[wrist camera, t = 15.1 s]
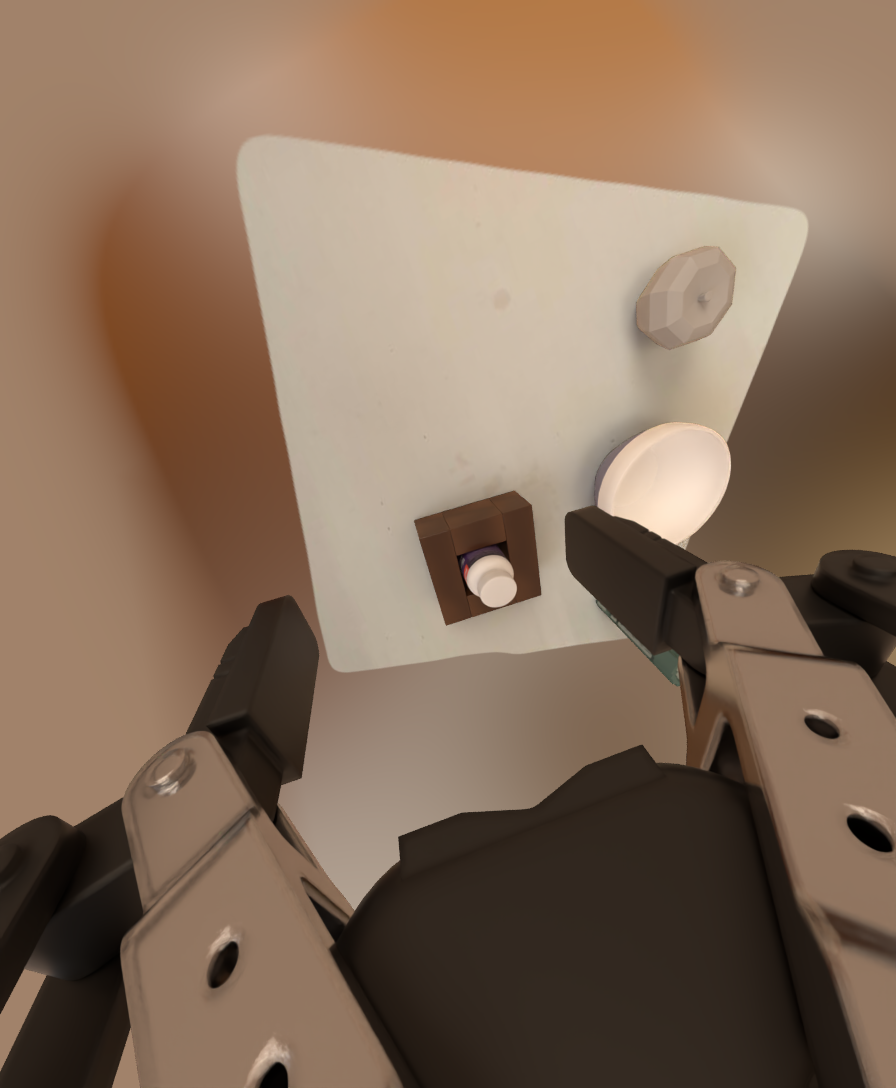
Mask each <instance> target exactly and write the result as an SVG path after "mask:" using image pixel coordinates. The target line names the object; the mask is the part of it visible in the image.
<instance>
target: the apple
mask: <svg viewBox="0 0 896 1088" xmlns="http://www.w3.org/2000/svg"><path fill="white" fill-rule="evenodd" d="M735 274H736V267H735V266H734V265H733V263H732V262H731V261H730V260H729V259H728V257H727V256H726V255H725V254H724V252H723V251H722V250H721V249H720V248H719V247H712V246H704V247H701V248H697V249H694V250H691V251H688V252H685V253H682V254H679V255H676V256H673V257H672V258H671V259H669V260H668V261H667V262H666V263H665V264H663V265H662V266H661V267H660V268H658V269H657V271H656V272H655V274H654V275H653V277H652V278H651V280H650V281H649V283H648V285H647V286H646V288H645V289H644V291H643V292H642V294H641V296H640V297H639V299H638V300H637V302H636V313H637V326H638V328H639V329H640V330H641V331H642V332H643V333H645V334H646V335H647V336H648V337H649V338H650V339H652V340H653V341H654V342H655V343H656V344H658V345H660V346H662V347H664V348H667V349H669V350H671V349H673V348H676V347H679V346H682V345H685V344H688V343H691V342H694V341H697V340H700V339H702V338H704V337H706V336H709V335H711V333H712V332H713V331H714V329H715V328H716V326H717V325H718V323H719V322H720V321H721V319H722V318H723V316H724V315H725V313H726V312H727V311H728V309H729V308H730V306H731V305H732V299H733V291H734V282H735Z"/></svg>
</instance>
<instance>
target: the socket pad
mask: <svg viewBox="0 0 896 1088" xmlns="http://www.w3.org/2000/svg"><path fill="white" fill-rule="evenodd" d="M414 522H415V526H416V529H417V533H418V536H419V540H420V543H421V546H422V549H423V553H424V556H425V559H426V562H427V566H428V569H429V572H430V575H431V579H432V582H433V585H434V588H435V592H436V595H437V598H438V601H439V605H440V608H441V611H442V615H443V618H444V621H445V624H446V625H449V624H453V623H456V622H459V621H462V620H465V619H468V618H471V617H474V616H477V615H481V614H484V613H487V612H490V611H493V610H496V609H499V608H502V607H505V606H509V605H512V604H515V603H518V602H521V601H524V600H527V599H530V598H533V597H537V596H540V595H541V586H540V577H539V568H538V558H537V549H536V540H535V531H534V522H533V512H532V505H531V504H530V503H529V502H527V501H526V500H525V499H524V498H523V497H522V496H520V495H519V494H518V493H517V492H516V491H512V492H508V493H505V494H502V495H498V496H495V497H492V498H489V499H484V500H481V501H478V502H474V503H471V504H468V505H464V506H461V507H457V508H454V509H451V510H447V511H444V512H442V513H437V514H434V515H431V516H427V517H424V518H421V519H417V520H414ZM493 544H497V545H498V547H499V548H500V550H501V551H502V552H503V554H504V555H505V557H506V558H507V559H508V561H509V562H510V564H511V566H512V568H513V571H514V577H513V579H514V581H515V583H516V585H517V591H516V594H515V596H514V598H513V599H512V600H511V601H510V602H509V603H508V604H506V605H504V606H501V607H489V606H487V605H485V604H484V603H483V602H482V600H481V598H480V597H479V596H477V595H475V594H474V593H473V592H472V591H471V590H470V589H469V587H468V585H467V583H466V581H465V578H464V576H463V574H462V573H461V572H460V568H459V564H458V560H457V556H458V555H461V554H464V553H467V552H471V551H474V550H477V549H480V548H484V547H487V546H490V545H493ZM456 555H457V556H456Z"/></svg>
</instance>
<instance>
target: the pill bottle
mask: <svg viewBox="0 0 896 1088" xmlns="http://www.w3.org/2000/svg"><path fill="white" fill-rule="evenodd" d="M456 556H457V555H456ZM457 560H458V564H459V567H460V570H461V572H462V574H463V576H464V578H465V581H466V583H467V585H468V587H469V589H470V590H471V591H472V592H473V593H474V594H475V595H477V596H479V597H480V598H481V600H482V602H483V603H484V604H485V605H487V606H489V607H501V606H504V605H506V604H508V603H509V602H510V601H511V600H512V599H513V598H514V596H515V594H516V591H517V585H516V583H515V581H514V579H513V577H514V571H513V568H512V566H511V564H510V562H509V561H508V559H507V558H506V557H505V555H504V554H503V552H502V551H501V550H500V548H499V547H498V545H497V544H493V545H490V546H487V547H484V548H480V549H477V550H474V551H471V552H467V553H464V554H461V555H458V556H457Z"/></svg>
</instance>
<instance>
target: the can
mask: <svg viewBox="0 0 896 1088" xmlns="http://www.w3.org/2000/svg"><path fill="white" fill-rule="evenodd" d="M596 603H597V605H598V606H599V608H600V609H601V610H602V611H603V612H604V613H605V614H606V615H607V616H608V617H609V618H610V619H611V620H612V621H613V622H614V623H615V624H616V625H617V626H618V627H619V628H620V630H621V631H622V632H623V633H624V634H625V635H626V636H627V637H628V638H629V639H630V640H631V641H632V642H633V643H634V644H635V645H636V646H637V647H638V648H639V649H640V650H641V652H642V653H643V654H644V655H646V657H647V658H648V659H649V660H650V661H651V662H652V663H653V664H654V665H655V666H656V667H657V668H658V669H659V670H660V671H661V672H662V674H663V675H664V676H665V677H666V678H667V679H668V680H669V681H670V682H671V683H672V684H675V685H676V686H680V681H679V673H678V658H679V655H678V654H677V653H676V652H675V651H674V650H673V649H672V650H669V651H666V652H663V653H661V654H658V655H655V656H653V655H652V654H651V653H650V652H649V651H648V650H647V649H646V648H645V647H644V646H643V645H642V644H641V643H640V642H639V641H638V640H637V639H636V638H635V637H634V636H633V635H632V634H631V633H630V632H629V631H628V630H627V629H626V628H625V627H624V626H623V625H622V624H621V623H620V622H619V621H618V620H617V619H616V618H615V617H614V616H613V615H612V614H611V613H610V612H609V611H608V610H607V609H606V608H605V607H604V606H603V605H602V604H601V603H600V602H599V601H598V600H596Z"/></svg>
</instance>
